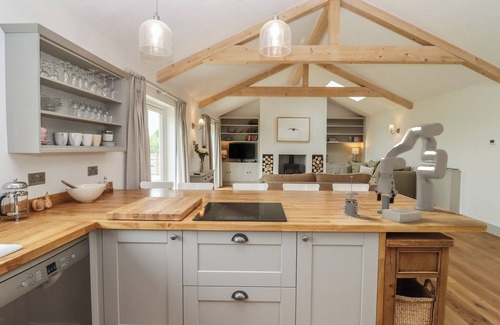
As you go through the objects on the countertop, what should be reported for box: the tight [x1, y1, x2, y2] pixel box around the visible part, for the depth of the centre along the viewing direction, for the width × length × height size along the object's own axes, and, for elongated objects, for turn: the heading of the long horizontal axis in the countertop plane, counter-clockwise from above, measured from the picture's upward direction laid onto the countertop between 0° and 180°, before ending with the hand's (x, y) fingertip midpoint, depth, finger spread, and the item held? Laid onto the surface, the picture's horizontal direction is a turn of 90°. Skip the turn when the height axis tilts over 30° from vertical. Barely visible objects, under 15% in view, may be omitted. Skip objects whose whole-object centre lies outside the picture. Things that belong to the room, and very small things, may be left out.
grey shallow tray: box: [381, 207, 423, 224], centre depth 157 cm, size 18×12×5 cm, turn 111°
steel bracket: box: [376, 194, 390, 215], centre depth 172 cm, size 10×4×12 cm, turn 111°
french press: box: [342, 175, 360, 218], centre depth 167 cm, size 10×12×25 cm
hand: (385, 202), depth 172 cm, fingers open, 9 cm apart
